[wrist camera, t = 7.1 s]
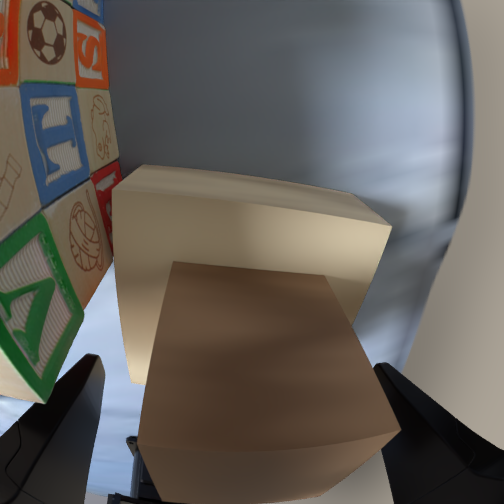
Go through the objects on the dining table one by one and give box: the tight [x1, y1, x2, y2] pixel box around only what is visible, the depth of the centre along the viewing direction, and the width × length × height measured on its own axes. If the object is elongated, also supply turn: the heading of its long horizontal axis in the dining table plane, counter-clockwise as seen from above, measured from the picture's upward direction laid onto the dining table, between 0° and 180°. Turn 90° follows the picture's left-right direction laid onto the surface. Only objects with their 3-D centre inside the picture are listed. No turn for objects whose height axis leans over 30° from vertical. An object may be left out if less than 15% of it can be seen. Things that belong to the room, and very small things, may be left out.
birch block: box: [112, 164, 392, 385], centre depth 12 cm, size 9×9×4 cm
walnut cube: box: [137, 261, 401, 504], centre depth 8 cm, size 5×5×6 cm
